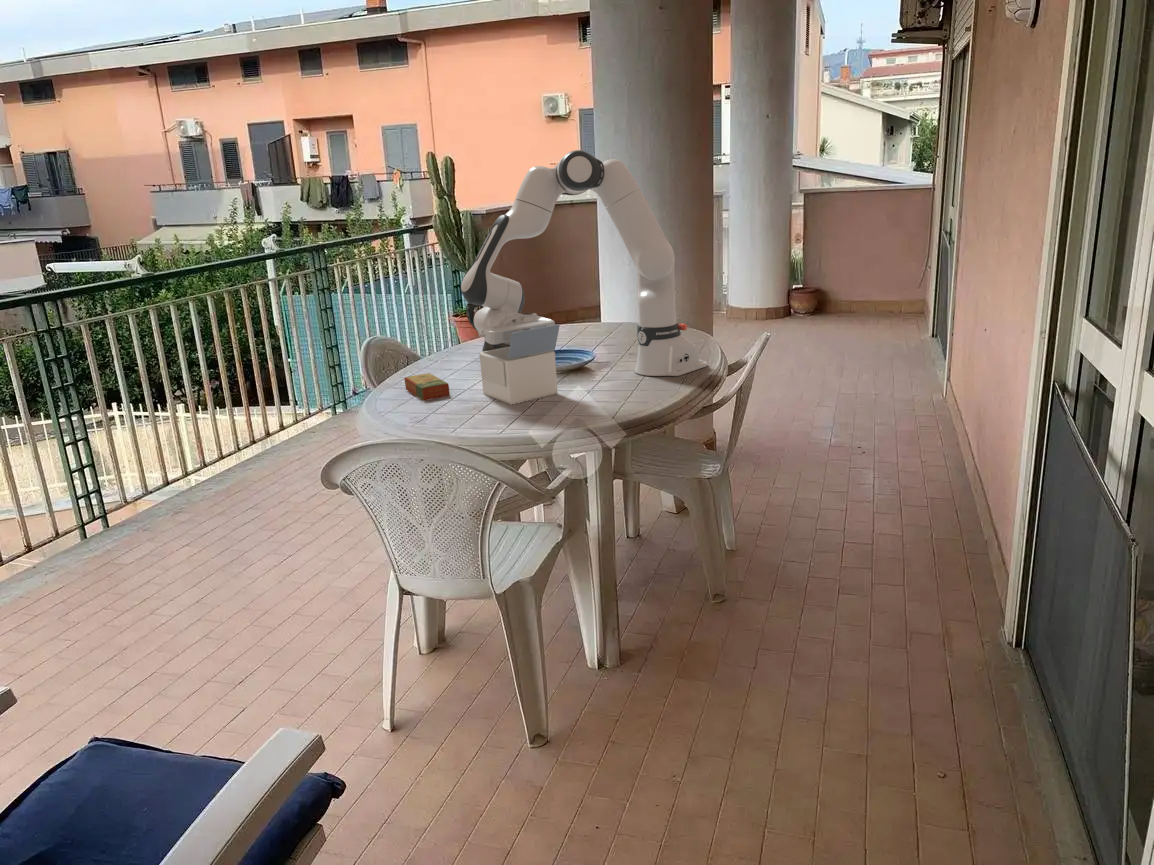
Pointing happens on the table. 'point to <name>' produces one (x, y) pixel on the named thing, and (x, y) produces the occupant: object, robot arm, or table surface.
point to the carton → (427, 386)
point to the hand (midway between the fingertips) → (533, 335)
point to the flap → (533, 341)
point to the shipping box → (518, 375)
